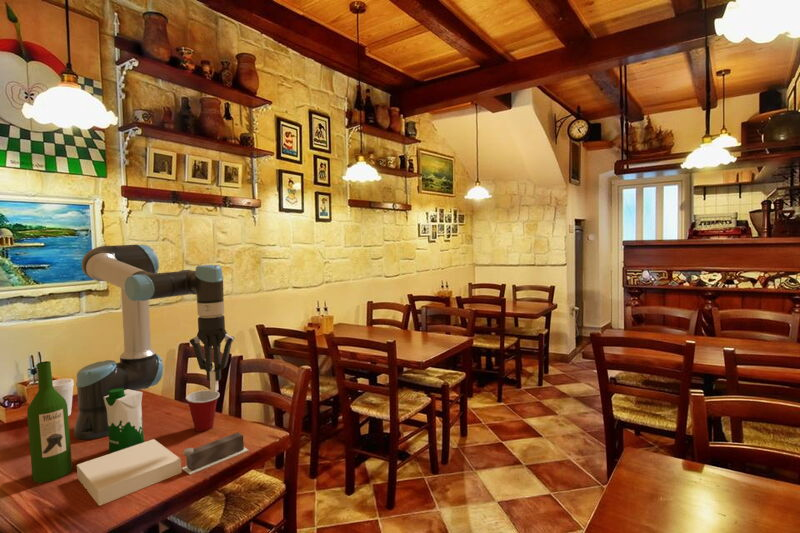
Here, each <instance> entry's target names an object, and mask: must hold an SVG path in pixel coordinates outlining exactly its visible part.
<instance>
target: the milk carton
mask: <svg viewBox="0 0 800 533" xmlns="http://www.w3.org/2000/svg"><path fill="white" fill-rule="evenodd" d="M103 398H104V402H105V405H106V409H107V419H108V433H109V435H108V452H109V454H111V453H114V452H117V451H120V450H123V449H126V448H129V447H132V446H135V445H138V444H141V443H144V442H145V435H144V434H145V433H144V427H143V426H144V425H143V411H142V400H143V391H141V390H137V391H135V390H129V389H127V390H124V388H116V389H112V390H110V391H109V395H108V396H105V397H103Z"/></svg>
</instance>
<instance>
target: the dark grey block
mask: <svg viewBox="0 0 800 533" xmlns="http://www.w3.org/2000/svg"><path fill="white" fill-rule="evenodd" d="M244 447H245V444H244V435H243V434H242V433H240V432H239V431H238V432H236V433H232V434H230V435H226V436H224V437H222V438H218V439H216V440H214V441H211V442H209V443H206V444H204V445H200V446H197V447H195V448H193V447H187V448H185V449H184V450H183V451H182V452H183V456H185V457H186V466H187V467H188V468H189V469H191V470H194V469H197V468H199V467H202V466H204V465H207V464H209V463H211V462H214V461H216V460H219V459H221V458H224V457H226V456H228V455H231V454H233V453H236V452H238V451H241V450H243V449H244Z"/></svg>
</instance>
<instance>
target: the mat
mask: <svg viewBox="0 0 800 533" xmlns="http://www.w3.org/2000/svg"><path fill="white" fill-rule="evenodd" d="M249 450H250V449H248V448H247V447H245V446H244V449H243V450H241V451H238V452H236V453H233V454H231V455H228V456H226V457H224V458H221V459H219V460H216V461H214V462H211V463H209V464H207V465H204V466H202V467H199V468H197V469H194V470H191V469H189V468H188V467H187V465H185V466H183V467H181V470H183V471H184V472H186V473H187V474H188V475H189V476H190V475H193V474H195V473H198V472H200V471H203V470H205V469H208V468H209V467H212V466H215V465H217V464H220V463H222V462H225V461H226V460H229V459H232V458H235V457H236V456H239V455H241V454H243V453H244V454H245V453H246V452H249Z"/></svg>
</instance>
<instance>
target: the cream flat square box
mask: <svg viewBox="0 0 800 533" xmlns="http://www.w3.org/2000/svg"><path fill="white" fill-rule="evenodd" d="M76 470H77V471H76V472H77V473H76V474H77V479H78V481H79V482H80V484H81V485H82V484H83V485H82V486H83V487H84V489H85V490H86V489H87V490H86V491H87V492H88V494H89V495H90V496H91V497H92V499H93V501H95V503H96V504H97V505H98V506H99V507H100V506H102V505H105V504H108V503H110V502H113V501H114V500H118V499H119V498H122V497H125V496H128V495H130V494H133V493H135V492H139V491H140V490H143V489H145V488H148V487H150V486H152V485H155V484H157V483H159V482H162V481H165V480H166V479H169V478H172V477H174V476H177V475H180V474H182V473H183V472H182V470H183V469H182V460H181V458H180V457H179V456H178V455H176V454H175V453H173V452H172V451H171V450H170V449H168V448H167V447H165V446H164V445H163V444H161V443H160V442H159V441H157V440H156V439H154V438H152V439H150V440H148V441H147V440H146V441H144V443H141V444H138V445H135V446H132V447H129V448H126V449H123V450H120V451H117V452H114V453H109V454H105V455H102V456H99V457H96V458H93V459H89V460H87V461H84V462H80V463H78V464H76Z"/></svg>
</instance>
